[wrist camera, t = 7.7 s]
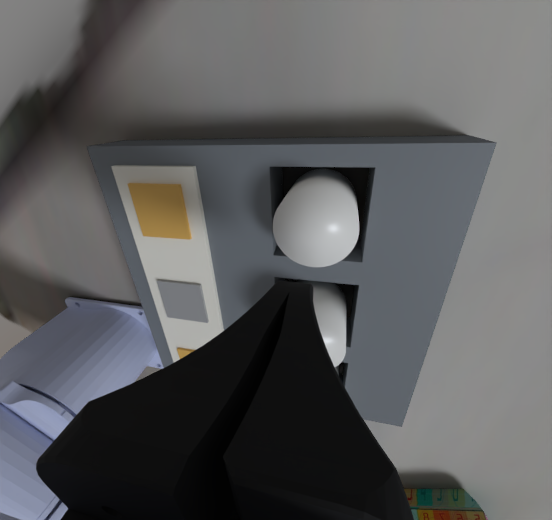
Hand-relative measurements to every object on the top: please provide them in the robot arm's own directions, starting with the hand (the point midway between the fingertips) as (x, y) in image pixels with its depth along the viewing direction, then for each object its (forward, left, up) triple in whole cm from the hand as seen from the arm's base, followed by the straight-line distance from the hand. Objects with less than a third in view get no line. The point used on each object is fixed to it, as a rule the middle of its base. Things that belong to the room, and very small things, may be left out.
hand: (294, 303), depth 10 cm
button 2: (0, +2, -8) cm, 8 cm away
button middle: (0, -5, -7) cm, 8 cm away
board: (-3, -5, -8) cm, 10 cm away
